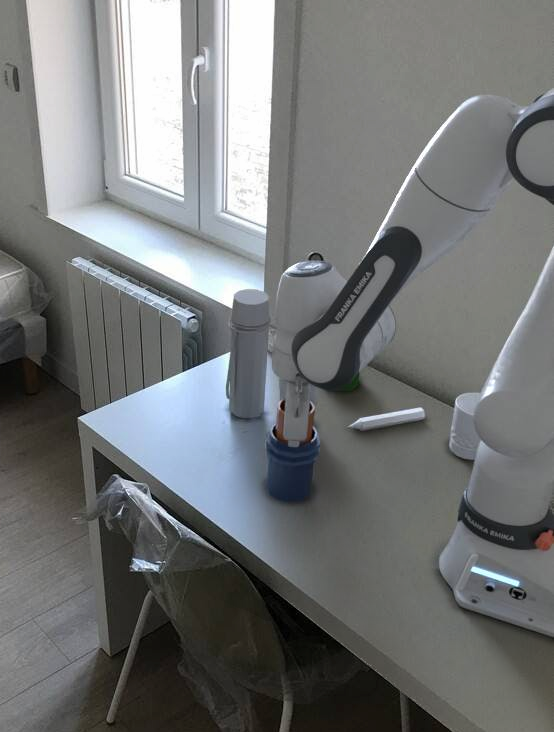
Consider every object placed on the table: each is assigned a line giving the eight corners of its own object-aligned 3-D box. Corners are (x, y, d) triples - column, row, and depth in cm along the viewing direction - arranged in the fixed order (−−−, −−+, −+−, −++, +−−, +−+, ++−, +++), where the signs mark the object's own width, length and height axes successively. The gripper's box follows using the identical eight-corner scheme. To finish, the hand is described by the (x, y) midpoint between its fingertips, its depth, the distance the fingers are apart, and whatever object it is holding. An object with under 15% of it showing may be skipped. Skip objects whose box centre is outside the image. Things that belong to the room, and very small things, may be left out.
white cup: (464, 432, 162) (474, 387, 156) (499, 452, 156) (511, 406, 151) (436, 446, 158) (446, 401, 152) (471, 467, 153) (482, 421, 147)
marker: (345, 434, 164) (419, 419, 167) (349, 434, 162) (425, 419, 165) (343, 420, 163) (418, 406, 167) (347, 421, 161) (423, 406, 164)
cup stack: (319, 485, 150) (326, 429, 143) (296, 508, 145) (301, 451, 138) (281, 469, 154) (286, 414, 147) (257, 490, 149) (261, 434, 142)
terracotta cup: (316, 453, 145) (321, 404, 140) (297, 470, 142) (302, 420, 136) (286, 441, 149) (290, 392, 143) (267, 457, 145) (270, 408, 139)
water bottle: (245, 396, 174) (251, 284, 160) (273, 412, 169) (281, 297, 155) (212, 412, 170) (214, 298, 155) (239, 429, 164) (245, 313, 150)
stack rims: (328, 446, 145) (330, 434, 144) (300, 473, 139) (301, 460, 138) (284, 429, 150) (285, 417, 148) (255, 453, 144) (256, 441, 143)
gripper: (320, 396, 126) (312, 470, 133) (320, 331, 142) (313, 400, 150) (277, 393, 127) (271, 467, 134) (282, 328, 143) (277, 398, 151)
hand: (294, 431), depth 142 cm, fingers closed on terracotta cup, 6 cm apart
